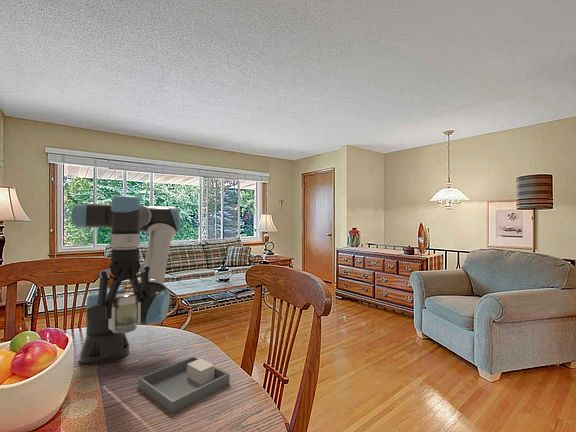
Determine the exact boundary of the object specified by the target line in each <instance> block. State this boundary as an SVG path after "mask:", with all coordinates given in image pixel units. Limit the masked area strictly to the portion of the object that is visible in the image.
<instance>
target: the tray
mask: <svg viewBox="0 0 576 432" xmlns="http://www.w3.org/2000/svg"><path fill="white" fill-rule="evenodd" d="M198 359H199V357H197V356H194V355H193V356H190V357H188V358H186V359H183V360H180V361H178V362H176V363H173V364H170V365H168V366H166V367H163V368H161V369H158V370H155V371H153V372H150V373H148V374H147V373H146V374H145V375H143V376H140V377H138V383H137V384H138V385H137V386H138V389H140V390H141V391H142V392H144V393H145V394H146V395H147V396H148V397H150V398H152V400H154V401H155V402H156V403H158V404H159V405H161V406H162V407H163V408H164V409H166V410H167V411H169V412H170V413H171V414H174V413H175V412H176V413H177V412H178V411H180V410H181V409H183V408H185V407H187V406H189V405H191V404H193V403H195V402H196V401H198V400H201V399H202V398H205V397H206V396H208V395H210V394H212V393H213V392H215V391H218V390H219V389H221V388H223V387H225V386H227V385H229V384H230V373H228V372H227V371H224V370H223V369H220V368H219V367H217V366H215V365H214V379H212V380H210V381H208V382H206V383H204V384H202V385H200V384H198V383H196V382H194V381H193V380H191V379H189V378H188V377H187V364H188V363H190V362H193V361H195V360H198Z"/></svg>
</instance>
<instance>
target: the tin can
mask: <svg viewBox="0 0 576 432" xmlns="http://www.w3.org/2000/svg"><path fill="white" fill-rule="evenodd" d="M112 306H113V307H115V330H113V331H112V332H113V333H125V334H127V333H130V332H134V331H135V330H137V329H138V325H137V294H136V293H123V294H117V295H116V297H115V300H114V302H113V305H112Z"/></svg>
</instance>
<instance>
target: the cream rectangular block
mask: <svg viewBox="0 0 576 432" xmlns="http://www.w3.org/2000/svg"><path fill="white" fill-rule="evenodd" d="M214 366H215V365H214V364H213V363H211V362H209V361H207V360H205V359H203V358H198V360H195V361H193V362H190V363H188V364H187V377H188V378H189V379H191V380H193V381H194V382H196V383H198V384H200V385H202V384H204V383H206V382H208V381H210V380H212V379H214Z"/></svg>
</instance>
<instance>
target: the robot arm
mask: <svg viewBox="0 0 576 432" xmlns="http://www.w3.org/2000/svg"><path fill="white" fill-rule="evenodd" d="M70 219H71V223H72V224H73V226H75V227H77V228H85V229H86V228H111V230H110V233H111V234H110V247H111V248H112V249H111V250H110V266H109V267H108V268H107V269H105V270H98V276H99V287H98V288H99V289H98V291H95V292H93V293H90V295H88V296H87V298H86V307H85V310H86V311H85V312H86V314H85V315H86V318H85V319H86V322H85V323H86V324H85V325H86V326H85V327H86V336H85V339H84V342H83V345H82V348H81V351H80V353H79V361H80V363H82V364H84V365H89V366H91V365H92V366H96V365H97V366H98V365H104V364H109V363H112V362H116V361H118V360H120V359H122V358H124V357H126V356H127V355H128V354H129V353H130V343H129V340H128V337H127V334H126V333H113V332H112V331H113V330H115V307H113V306H112V305H113V302H114V300H115V297H116V295H117V294H123V293H136V294H137V326H138V325H140V326H141V325H142V326H143V325H149V326H150V325H153V324H161V323H162V322H164V321H165V319H166V317H167V315H168V313H169V308H170V301H171V293H170V291H168V288H167V286H166V285H165V284H164V282H165V277H166V270H167V265H168V260H169V253H170V248H171V242H172V239H174V238H175V236H176V233H178V232H179V233H180V231H181V229H182V226H181V224H182V223H181V214H180V210H179V208H178V207H177V206H171V205H167V206H161V205H160V206H159V205H157V206H156V205H149V206H148V205H143V204H141V199H140V198H139V197H138V196H134V195H133V196H130V195H115V196H113V197H112V198H111V203H110V204H109V203H107V204H106V203H105V204H104V203H103V204H102V203H77V204H75V205H74V206H73V207H72V209H71V212H70ZM141 232H142V233H143V232H144V233H145V232H146V233H147V234H148V235H149V239H148V244H147V248H146V252H145V257H144V258H145V259H144V262H143V265H141V263H140V252H141V251H140V249H139V246H140V241H141V240H140V239H141V238H140V233H141ZM138 272H140V279H139V278H138V276H137V274H138ZM110 274H111V275H113V277H112V281H111V285H110V287H109V288H108V283H109V277H110ZM125 280H129V282H130V285H131V287H132V291H126V290H125V287H120V285H121V284H122V282H123V281H125Z"/></svg>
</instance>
